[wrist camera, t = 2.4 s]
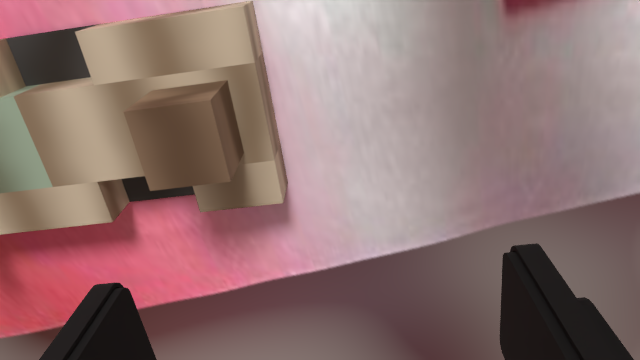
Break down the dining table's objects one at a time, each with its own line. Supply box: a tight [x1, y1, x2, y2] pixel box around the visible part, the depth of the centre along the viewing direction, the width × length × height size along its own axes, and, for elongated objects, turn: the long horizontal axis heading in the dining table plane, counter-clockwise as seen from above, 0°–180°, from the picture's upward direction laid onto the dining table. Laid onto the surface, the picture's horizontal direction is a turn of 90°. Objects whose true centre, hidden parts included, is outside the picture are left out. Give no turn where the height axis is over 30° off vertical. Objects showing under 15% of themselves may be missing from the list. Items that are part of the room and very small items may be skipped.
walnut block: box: [124, 80, 244, 191], centre depth 26 cm, size 4×4×4 cm
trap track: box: [0, 1, 288, 235], centre depth 29 cm, size 23×12×6 cm, turn 98°
